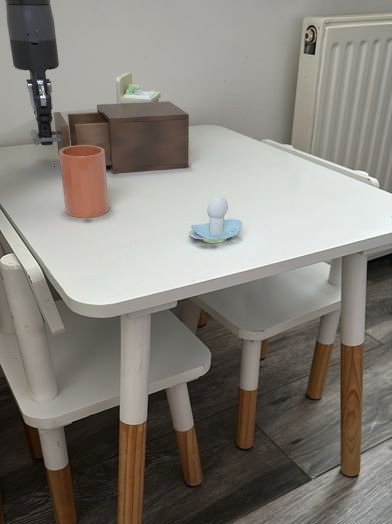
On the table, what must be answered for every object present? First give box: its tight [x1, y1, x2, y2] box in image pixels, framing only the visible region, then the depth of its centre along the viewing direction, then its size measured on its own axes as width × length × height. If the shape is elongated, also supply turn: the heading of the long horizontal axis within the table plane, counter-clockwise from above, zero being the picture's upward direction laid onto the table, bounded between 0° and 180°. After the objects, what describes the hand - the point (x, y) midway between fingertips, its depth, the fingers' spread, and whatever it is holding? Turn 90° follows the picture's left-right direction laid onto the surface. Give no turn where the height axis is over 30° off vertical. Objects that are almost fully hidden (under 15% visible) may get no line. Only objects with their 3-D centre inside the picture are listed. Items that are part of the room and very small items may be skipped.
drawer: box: [29, 111, 112, 166], centre depth 104 cm, size 18×11×8 cm, turn 108°
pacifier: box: [188, 196, 243, 244], centre depth 77 cm, size 7×6×6 cm
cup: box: [58, 145, 110, 219], centre depth 84 cm, size 7×7×9 cm
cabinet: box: [96, 100, 190, 174], centre depth 107 cm, size 15×13×10 cm
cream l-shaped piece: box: [115, 72, 162, 104], centre depth 119 cm, size 8×7×13 cm
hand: (46, 144), depth 102 cm, fingers closed
